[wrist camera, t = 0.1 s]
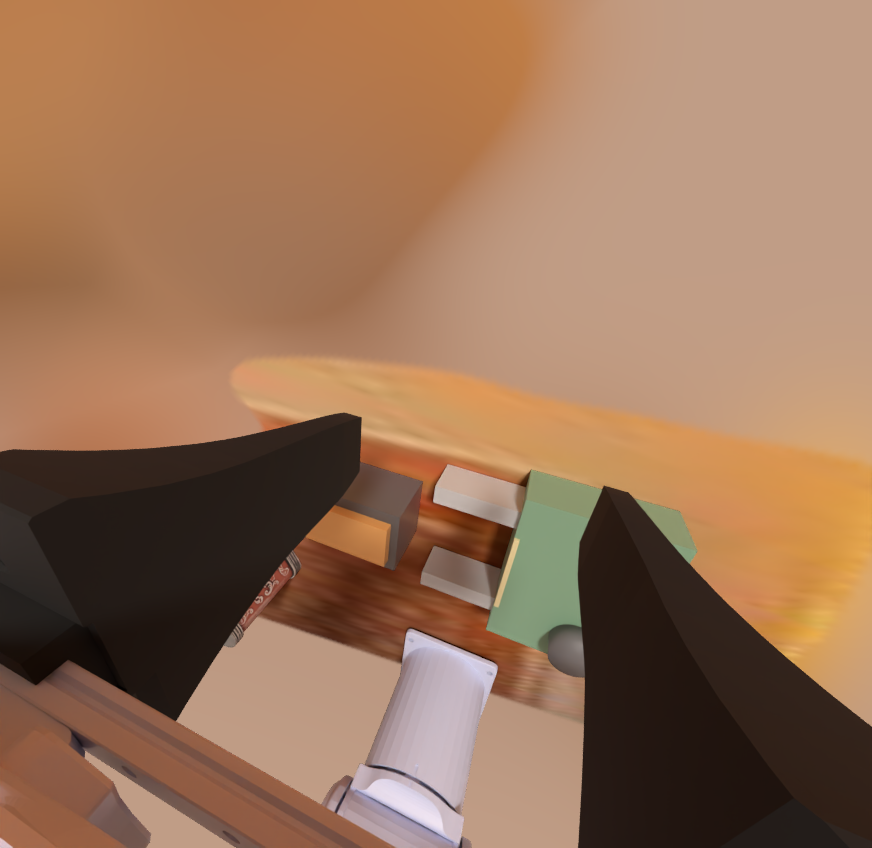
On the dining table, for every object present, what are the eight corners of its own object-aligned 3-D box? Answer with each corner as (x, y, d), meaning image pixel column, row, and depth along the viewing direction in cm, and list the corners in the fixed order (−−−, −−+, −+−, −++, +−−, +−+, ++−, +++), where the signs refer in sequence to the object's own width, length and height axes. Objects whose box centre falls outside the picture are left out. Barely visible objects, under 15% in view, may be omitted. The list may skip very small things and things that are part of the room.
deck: (608, 634, 24) (616, 701, 21) (429, 569, 27) (409, 616, 24) (679, 511, 19) (706, 570, 16) (450, 446, 22) (428, 484, 18)
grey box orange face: (416, 529, 26) (390, 578, 22) (333, 500, 28) (295, 541, 24) (423, 480, 24) (395, 524, 20) (333, 452, 26) (290, 488, 22)
